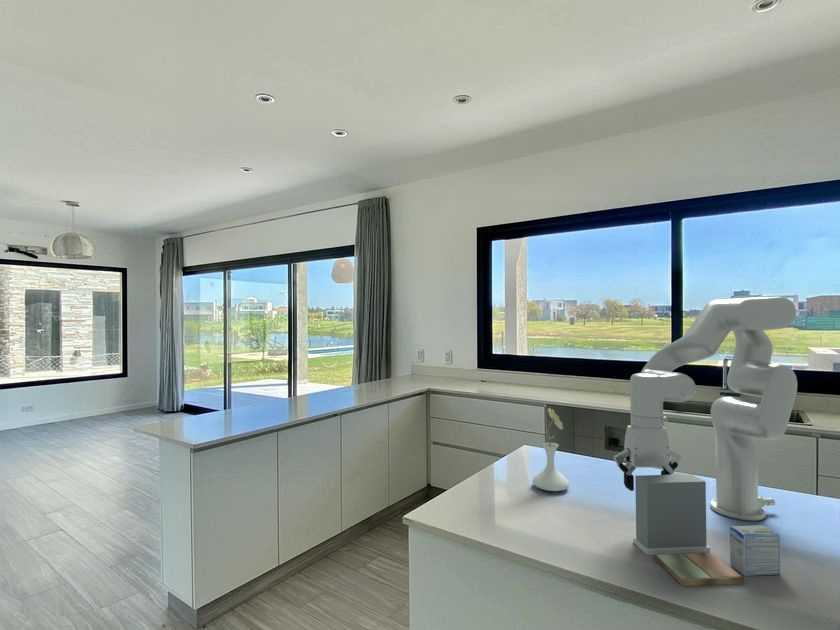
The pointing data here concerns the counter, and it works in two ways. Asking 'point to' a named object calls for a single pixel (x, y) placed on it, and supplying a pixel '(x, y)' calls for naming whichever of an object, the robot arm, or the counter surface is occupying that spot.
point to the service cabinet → (670, 514)
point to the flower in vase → (551, 464)
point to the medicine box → (754, 550)
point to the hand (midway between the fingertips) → (647, 488)
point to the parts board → (698, 569)
